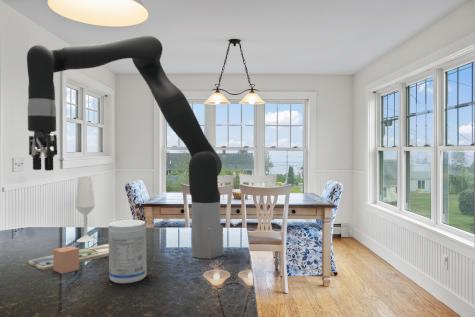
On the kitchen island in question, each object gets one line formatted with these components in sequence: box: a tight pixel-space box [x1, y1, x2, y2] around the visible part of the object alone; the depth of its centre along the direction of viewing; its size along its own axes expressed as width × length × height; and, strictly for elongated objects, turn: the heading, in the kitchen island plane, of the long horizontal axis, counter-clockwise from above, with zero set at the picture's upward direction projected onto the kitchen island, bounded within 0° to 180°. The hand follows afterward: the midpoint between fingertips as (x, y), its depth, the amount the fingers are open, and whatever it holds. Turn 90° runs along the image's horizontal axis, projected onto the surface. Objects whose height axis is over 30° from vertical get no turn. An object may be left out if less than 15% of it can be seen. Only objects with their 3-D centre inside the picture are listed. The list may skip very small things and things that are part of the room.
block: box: [52, 245, 80, 275], centre depth 108 cm, size 5×5×6 cm
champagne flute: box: [75, 176, 96, 243], centre depth 144 cm, size 7×7×24 cm
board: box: [26, 243, 109, 272], centre depth 121 cm, size 12×27×1 cm, turn 139°
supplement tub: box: [108, 219, 147, 284], centre depth 100 cm, size 10×10×15 cm
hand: (42, 170), depth 113 cm, fingers open, 8 cm apart
